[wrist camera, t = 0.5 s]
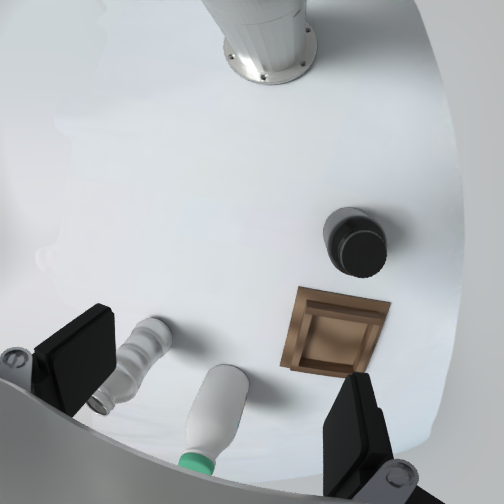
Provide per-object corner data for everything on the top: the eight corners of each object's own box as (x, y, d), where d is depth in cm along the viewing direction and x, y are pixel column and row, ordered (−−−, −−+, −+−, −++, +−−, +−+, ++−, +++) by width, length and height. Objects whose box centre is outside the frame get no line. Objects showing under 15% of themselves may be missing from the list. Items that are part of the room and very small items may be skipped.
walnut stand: (298, 286, 42) (298, 295, 39) (389, 302, 41) (394, 311, 38) (280, 364, 46) (278, 375, 43) (361, 375, 45) (363, 387, 42)
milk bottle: (199, 367, 49) (155, 453, 30) (239, 359, 47) (206, 453, 28) (217, 398, 51) (184, 484, 32) (256, 392, 49) (234, 485, 30)
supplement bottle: (380, 226, 38) (410, 249, 27) (350, 265, 40) (368, 301, 29) (342, 195, 38) (359, 206, 26) (311, 236, 40) (316, 263, 29)
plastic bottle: (162, 352, 49) (107, 430, 30) (135, 326, 49) (68, 394, 30) (183, 334, 48) (127, 416, 29) (153, 305, 47) (83, 376, 28)
